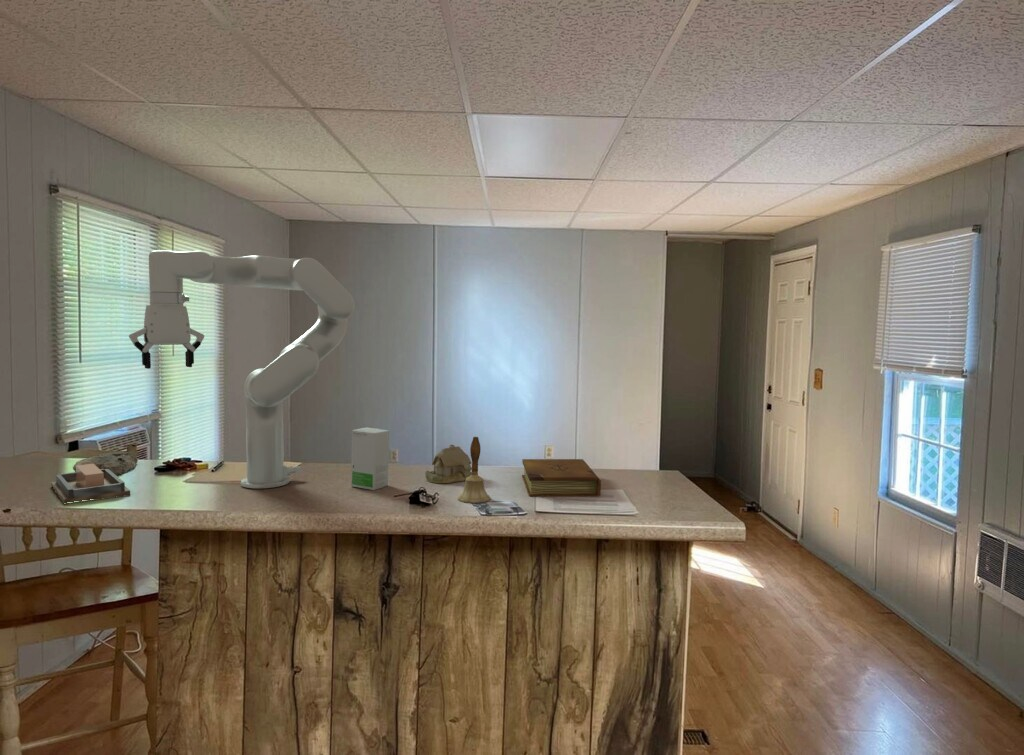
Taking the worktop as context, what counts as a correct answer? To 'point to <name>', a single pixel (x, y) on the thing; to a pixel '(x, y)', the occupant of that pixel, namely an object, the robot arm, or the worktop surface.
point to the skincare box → (370, 458)
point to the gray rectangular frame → (73, 492)
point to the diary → (560, 478)
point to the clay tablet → (111, 462)
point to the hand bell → (474, 479)
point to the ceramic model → (450, 466)
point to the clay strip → (89, 476)
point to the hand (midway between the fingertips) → (168, 367)
